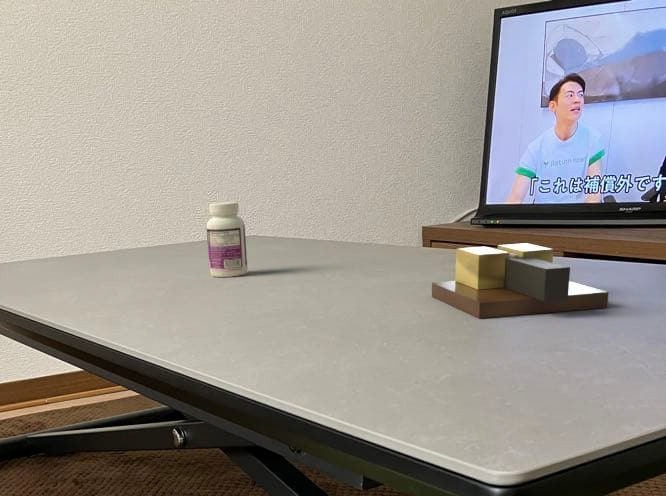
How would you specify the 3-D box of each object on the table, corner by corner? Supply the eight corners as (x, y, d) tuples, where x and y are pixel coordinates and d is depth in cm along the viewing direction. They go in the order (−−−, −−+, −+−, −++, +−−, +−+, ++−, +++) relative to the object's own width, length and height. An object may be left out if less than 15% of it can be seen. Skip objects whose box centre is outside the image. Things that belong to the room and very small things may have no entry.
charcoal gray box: (568, 300, 85) (570, 264, 83) (543, 302, 84) (545, 266, 83) (497, 276, 101) (499, 246, 100) (477, 278, 101) (478, 248, 100)
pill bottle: (220, 272, 131) (214, 201, 128) (253, 272, 129) (249, 200, 126) (203, 277, 127) (197, 204, 123) (238, 277, 125) (233, 203, 121)
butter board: (543, 287, 102) (546, 241, 100) (607, 307, 88) (612, 254, 86) (431, 296, 100) (432, 249, 98) (478, 318, 87) (481, 264, 85)
